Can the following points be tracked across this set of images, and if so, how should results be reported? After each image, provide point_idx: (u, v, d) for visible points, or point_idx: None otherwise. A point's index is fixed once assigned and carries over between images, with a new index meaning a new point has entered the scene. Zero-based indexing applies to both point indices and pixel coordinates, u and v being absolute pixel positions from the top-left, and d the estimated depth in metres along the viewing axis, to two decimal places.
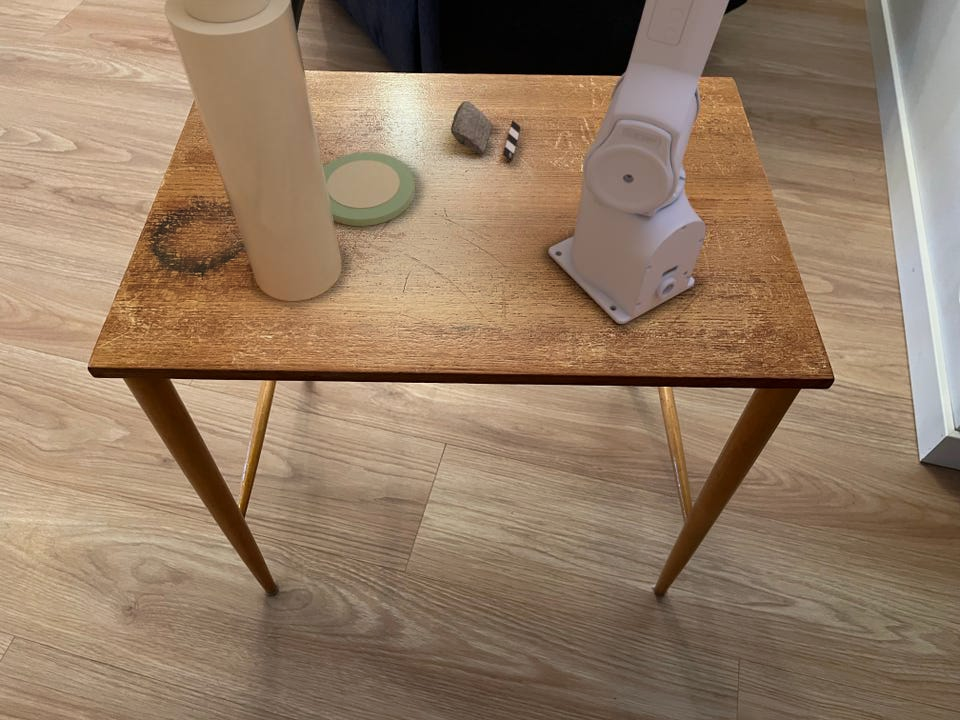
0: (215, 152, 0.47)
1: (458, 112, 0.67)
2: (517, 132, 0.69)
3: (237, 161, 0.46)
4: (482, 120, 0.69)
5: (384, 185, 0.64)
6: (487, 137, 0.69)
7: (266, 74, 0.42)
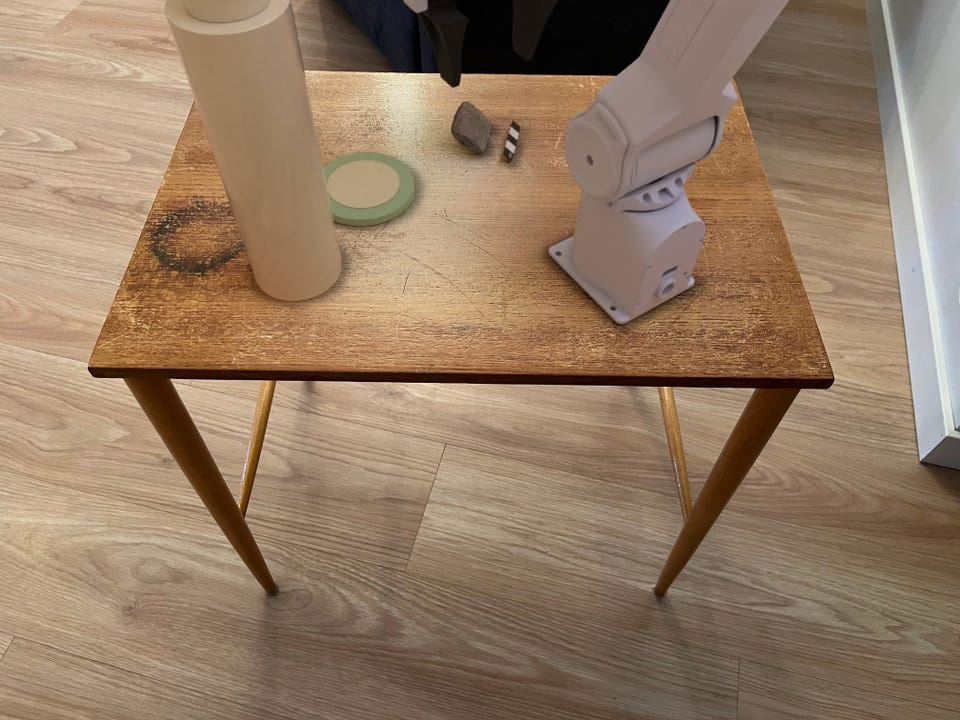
0: (215, 152, 0.47)
1: (458, 112, 0.67)
2: (517, 132, 0.69)
3: (237, 161, 0.46)
4: (482, 120, 0.69)
5: (384, 185, 0.64)
6: (487, 137, 0.69)
7: (266, 74, 0.42)
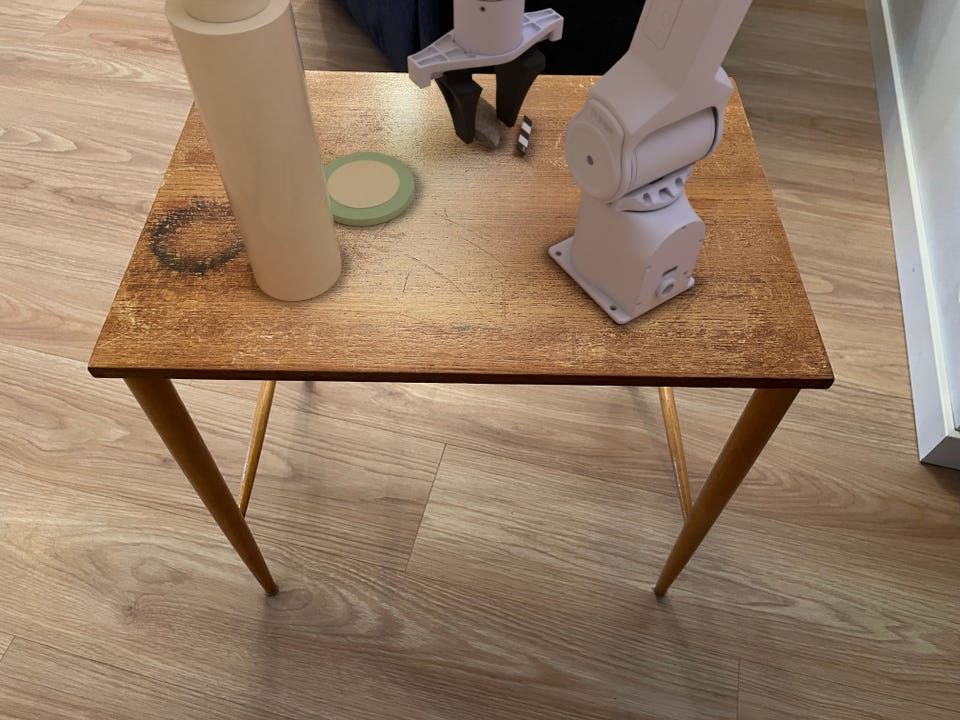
0: (215, 152, 0.47)
1: None
2: (529, 126, 0.70)
3: (237, 161, 0.46)
4: (495, 115, 0.69)
5: (384, 185, 0.64)
6: (500, 132, 0.69)
7: (266, 74, 0.42)
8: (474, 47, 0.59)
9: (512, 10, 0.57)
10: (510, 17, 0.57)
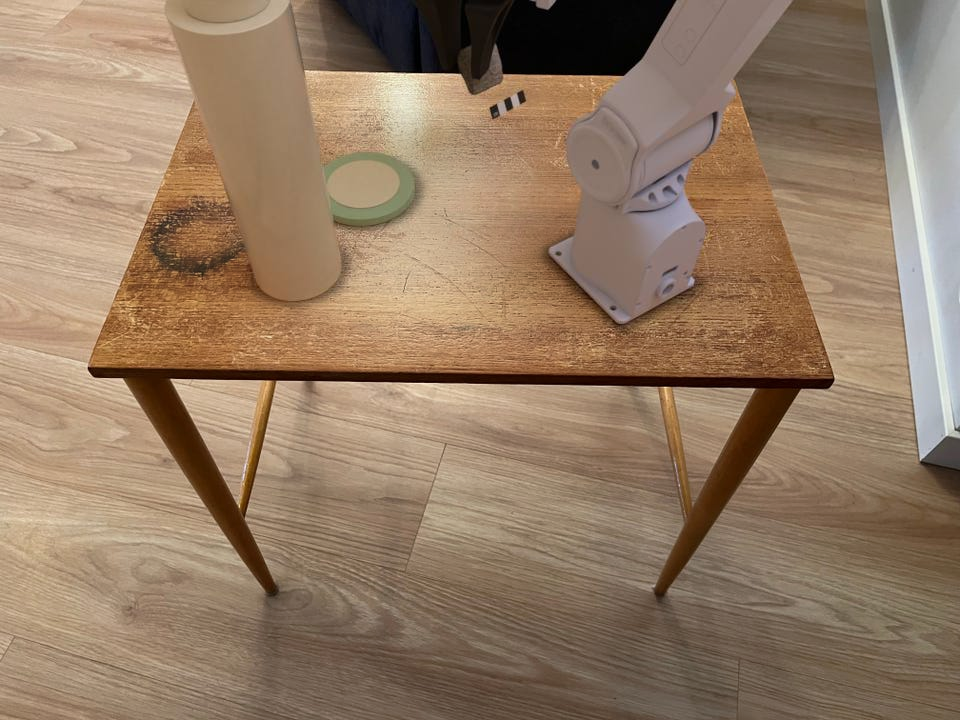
0: (215, 152, 0.47)
1: None
2: (519, 102, 0.65)
3: (237, 161, 0.46)
4: (495, 68, 0.64)
5: (384, 185, 0.64)
6: (488, 86, 0.64)
7: (266, 74, 0.42)
8: None
9: None
10: None
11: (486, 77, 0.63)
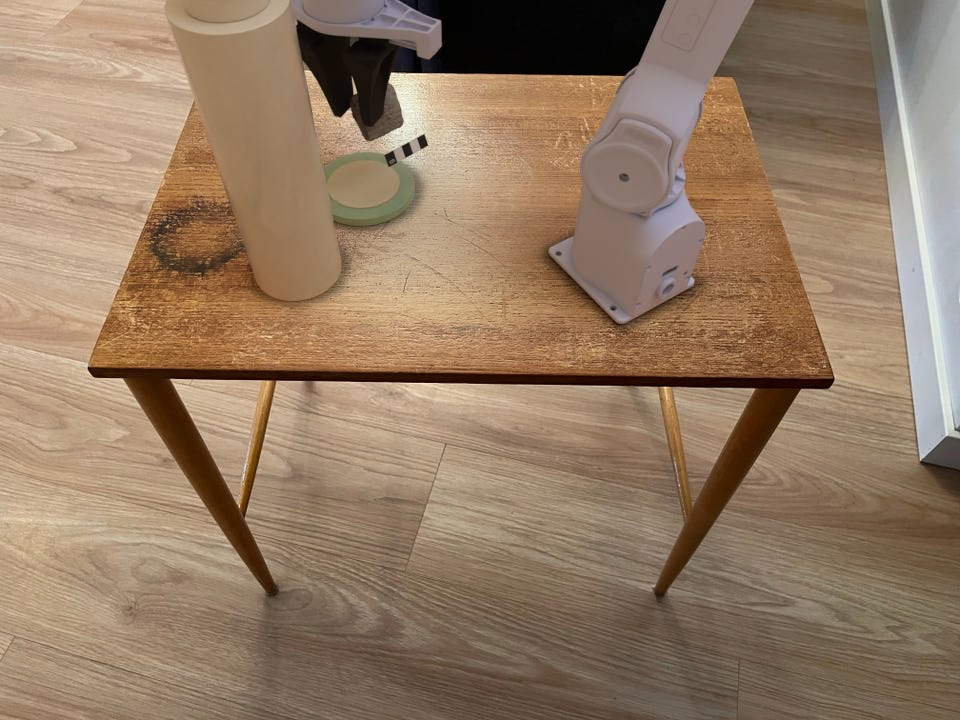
0: (215, 152, 0.47)
1: None
2: (419, 147, 0.62)
3: (237, 161, 0.46)
4: (393, 112, 0.61)
5: (384, 185, 0.64)
6: (386, 131, 0.61)
7: (266, 74, 0.42)
8: None
9: None
10: None
11: (382, 122, 0.60)
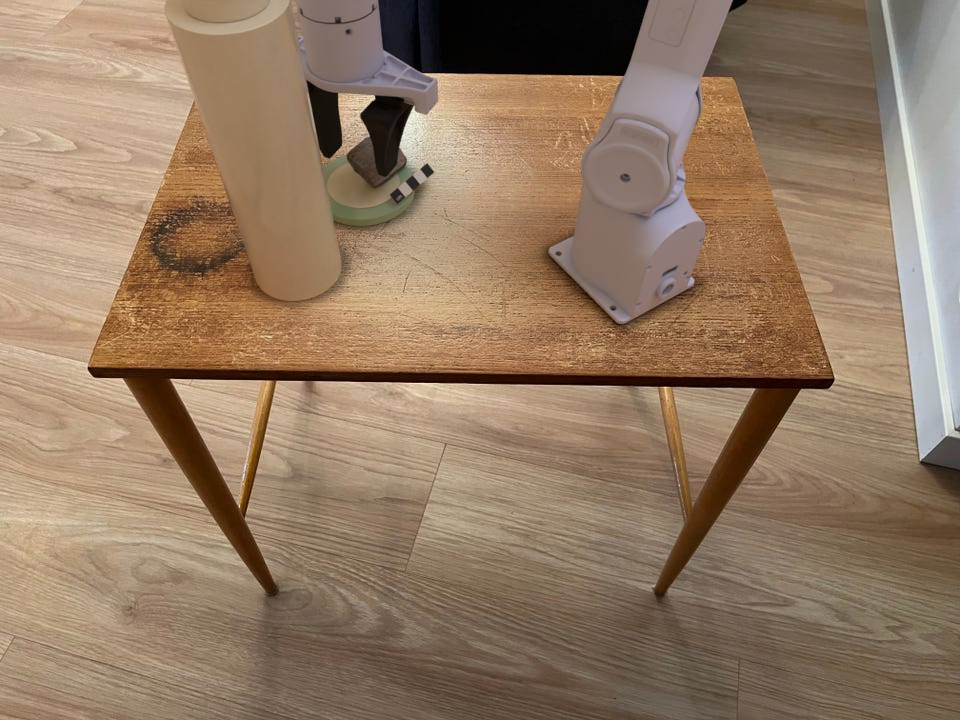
0: (215, 152, 0.47)
1: (365, 138, 0.63)
2: (425, 176, 0.64)
3: (237, 161, 0.46)
4: None
5: (384, 185, 0.64)
6: (390, 173, 0.64)
7: (266, 74, 0.42)
8: None
9: (322, 37, 0.50)
10: (320, 43, 0.51)
11: None
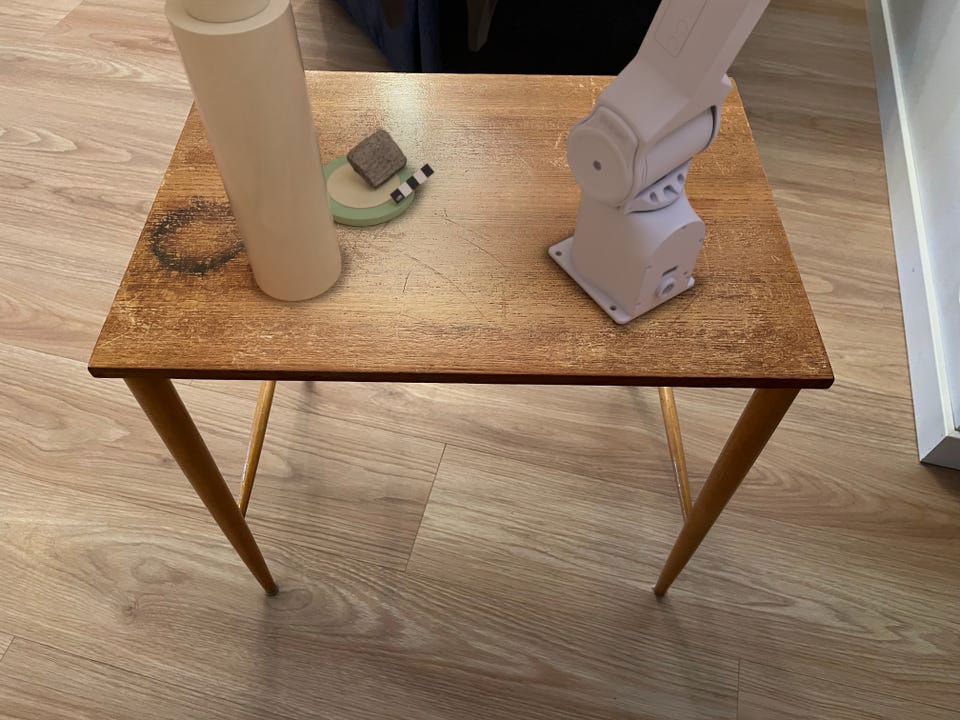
0: (215, 152, 0.47)
1: (365, 138, 0.63)
2: (425, 176, 0.64)
3: (237, 161, 0.46)
4: (391, 154, 0.64)
5: (384, 185, 0.64)
6: (390, 173, 0.64)
7: (266, 74, 0.42)
8: None
9: None
10: None
11: (383, 166, 0.63)
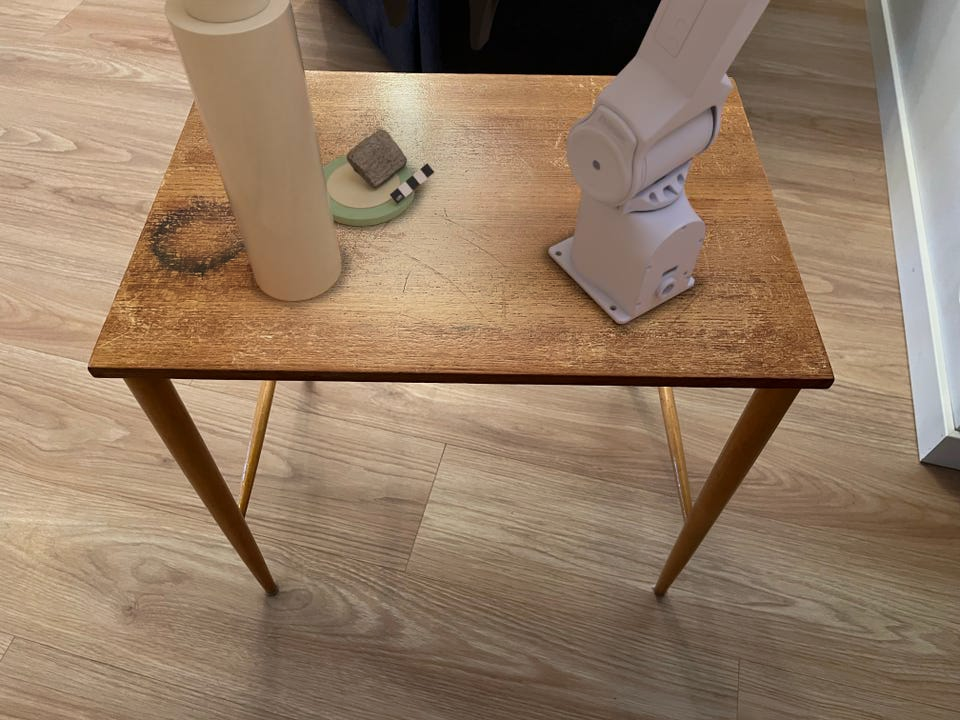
0: (215, 152, 0.47)
1: (365, 138, 0.63)
2: (425, 176, 0.64)
3: (237, 161, 0.46)
4: (391, 154, 0.64)
5: (384, 185, 0.64)
6: (390, 173, 0.64)
7: (266, 74, 0.42)
8: None
9: None
10: None
11: (383, 166, 0.63)
